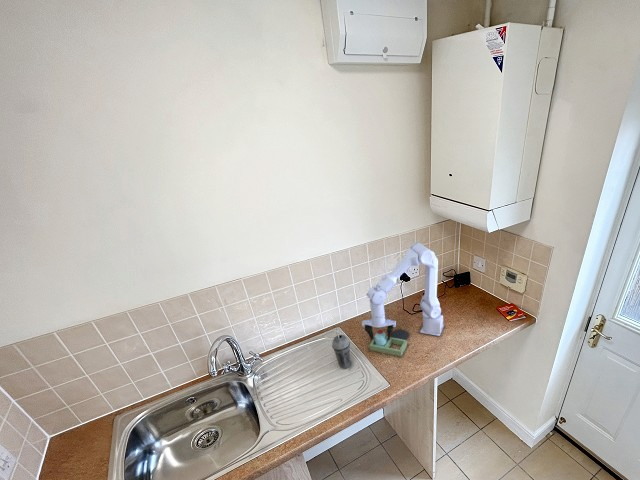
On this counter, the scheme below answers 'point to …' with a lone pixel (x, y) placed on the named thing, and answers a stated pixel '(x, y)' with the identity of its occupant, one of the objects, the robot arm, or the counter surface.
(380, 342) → the bottle
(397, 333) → the coaster
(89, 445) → the counter surface
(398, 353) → the bottle rack
